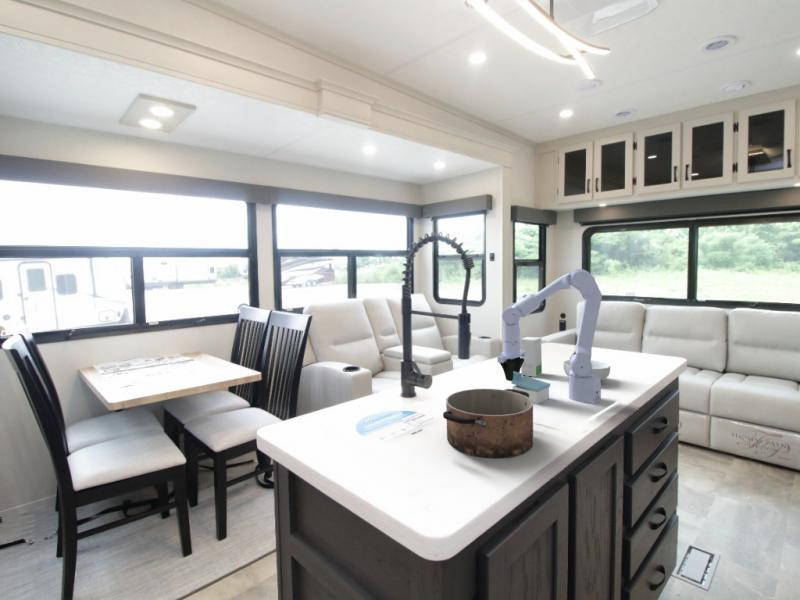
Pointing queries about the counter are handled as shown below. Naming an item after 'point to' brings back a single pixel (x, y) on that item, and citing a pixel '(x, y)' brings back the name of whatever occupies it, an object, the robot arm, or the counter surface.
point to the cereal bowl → (593, 369)
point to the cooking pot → (490, 422)
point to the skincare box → (531, 356)
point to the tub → (535, 394)
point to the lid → (528, 382)
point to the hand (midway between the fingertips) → (512, 379)
